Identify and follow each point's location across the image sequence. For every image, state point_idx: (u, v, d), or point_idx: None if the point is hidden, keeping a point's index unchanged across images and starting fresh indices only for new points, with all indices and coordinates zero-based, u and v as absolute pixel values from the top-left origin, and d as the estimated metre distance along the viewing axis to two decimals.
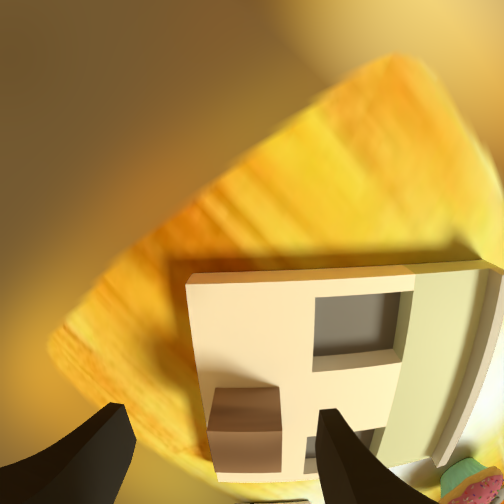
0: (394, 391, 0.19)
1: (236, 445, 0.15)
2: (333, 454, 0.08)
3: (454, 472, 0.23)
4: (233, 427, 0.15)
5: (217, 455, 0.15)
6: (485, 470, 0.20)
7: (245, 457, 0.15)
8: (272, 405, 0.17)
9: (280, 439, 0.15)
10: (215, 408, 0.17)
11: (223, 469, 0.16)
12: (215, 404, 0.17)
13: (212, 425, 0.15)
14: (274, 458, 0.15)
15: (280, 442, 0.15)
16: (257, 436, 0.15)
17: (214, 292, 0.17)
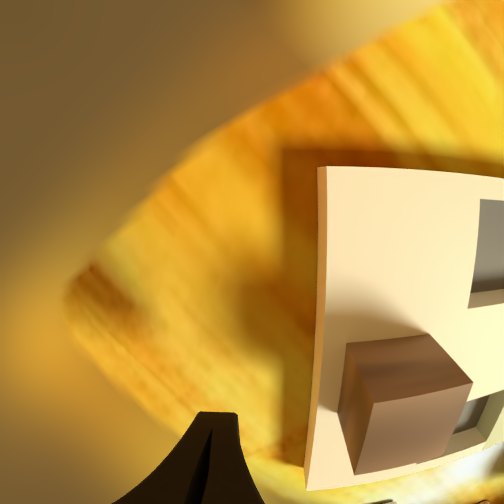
0: None
1: (408, 421, 0.09)
2: None
3: None
4: (410, 389, 0.09)
5: (372, 445, 0.09)
6: None
7: (410, 440, 0.09)
8: (437, 354, 0.11)
9: (465, 398, 0.09)
10: (365, 369, 0.10)
11: (368, 468, 0.09)
12: (362, 363, 0.11)
13: (377, 392, 0.09)
14: (446, 433, 0.09)
15: (463, 404, 0.09)
16: (442, 397, 0.09)
17: (368, 180, 0.11)
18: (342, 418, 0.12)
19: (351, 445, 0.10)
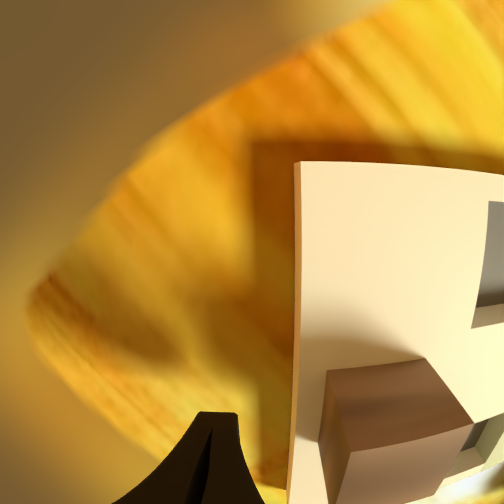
0: None
1: (394, 467, 0.07)
2: None
3: None
4: (397, 434, 0.07)
5: (350, 491, 0.07)
6: None
7: (396, 485, 0.07)
8: (433, 385, 0.09)
9: (464, 439, 0.07)
10: (346, 405, 0.09)
11: None
12: (342, 398, 0.09)
13: (357, 437, 0.07)
14: (438, 475, 0.07)
15: (461, 445, 0.07)
16: (436, 442, 0.07)
17: (352, 178, 0.09)
18: (322, 451, 0.10)
19: (329, 485, 0.09)
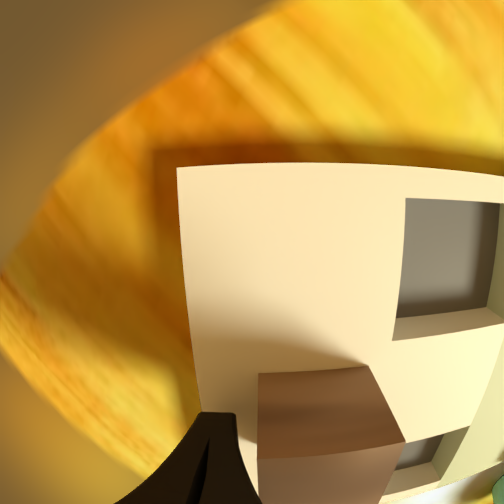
0: (491, 370, 0.11)
1: (313, 479, 0.07)
2: None
3: None
4: (312, 446, 0.07)
5: (271, 498, 0.07)
6: None
7: (323, 497, 0.07)
8: (368, 396, 0.09)
9: (396, 457, 0.07)
10: (266, 410, 0.09)
11: None
12: (264, 403, 0.09)
13: (268, 444, 0.07)
14: (373, 491, 0.07)
15: (393, 463, 0.07)
16: (358, 458, 0.07)
17: (229, 180, 0.09)
18: None
19: None
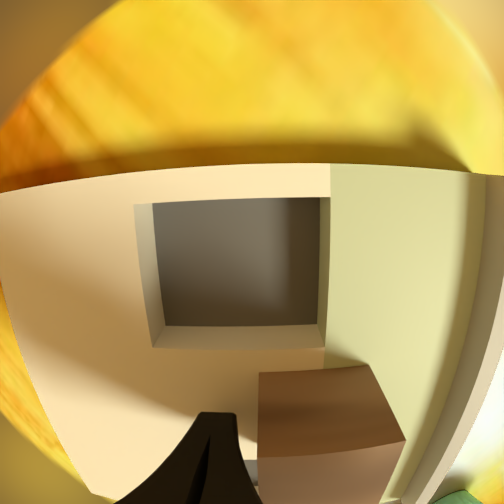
0: None
1: (313, 478, 0.07)
2: None
3: None
4: (312, 444, 0.07)
5: (271, 497, 0.07)
6: None
7: (323, 496, 0.07)
8: (369, 395, 0.09)
9: (397, 456, 0.07)
10: (266, 409, 0.09)
11: None
12: (265, 402, 0.09)
13: (268, 443, 0.07)
14: (374, 490, 0.07)
15: (394, 462, 0.07)
16: (358, 457, 0.07)
17: (11, 203, 0.10)
18: None
19: None
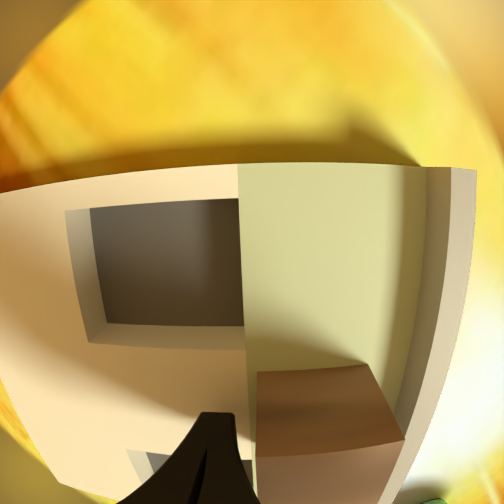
0: (248, 403, 0.11)
1: (312, 477, 0.07)
2: None
3: None
4: (311, 444, 0.07)
5: (270, 497, 0.07)
6: None
7: (322, 496, 0.07)
8: (368, 395, 0.09)
9: (396, 456, 0.07)
10: (265, 409, 0.09)
11: None
12: (263, 401, 0.09)
13: (266, 443, 0.07)
14: (373, 490, 0.07)
15: (393, 462, 0.07)
16: (357, 456, 0.07)
17: None
18: None
19: None
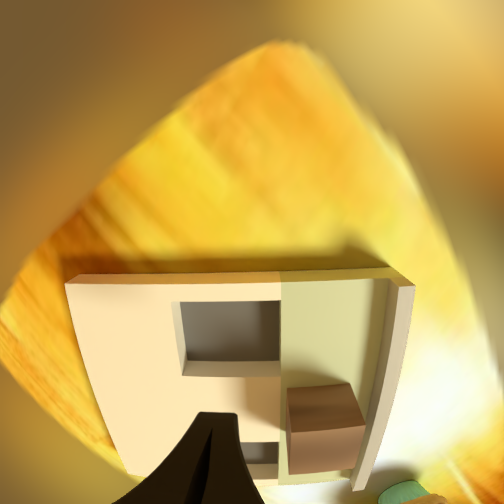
0: (280, 406, 0.19)
1: (318, 444, 0.15)
2: None
3: (390, 495, 0.23)
4: (318, 426, 0.15)
5: (296, 456, 0.15)
6: (422, 497, 0.20)
7: (324, 456, 0.15)
8: (348, 401, 0.16)
9: (362, 433, 0.14)
10: (293, 409, 0.16)
11: (297, 471, 0.15)
12: (292, 404, 0.17)
13: (296, 425, 0.15)
14: (351, 454, 0.15)
15: (361, 437, 0.15)
16: (341, 432, 0.14)
17: (85, 291, 0.17)
18: (286, 436, 0.18)
19: (288, 455, 0.16)
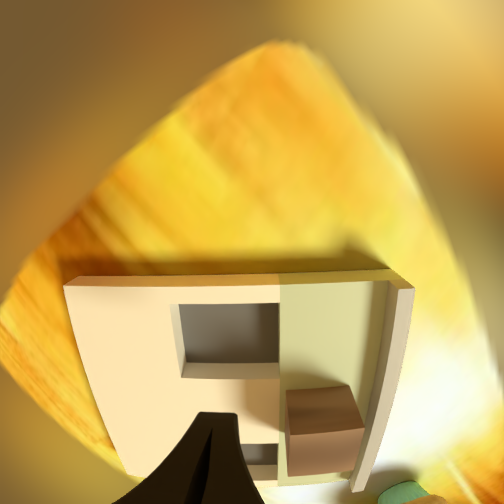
0: (279, 408, 0.19)
1: (317, 447, 0.15)
2: None
3: (390, 495, 0.23)
4: (316, 428, 0.15)
5: (295, 459, 0.15)
6: (422, 498, 0.19)
7: (322, 458, 0.15)
8: (347, 403, 0.16)
9: (361, 436, 0.14)
10: (292, 411, 0.16)
11: (296, 473, 0.15)
12: (291, 407, 0.17)
13: (295, 428, 0.15)
14: (350, 456, 0.15)
15: (360, 439, 0.14)
16: (340, 435, 0.14)
17: (84, 293, 0.17)
18: (285, 437, 0.18)
19: None
